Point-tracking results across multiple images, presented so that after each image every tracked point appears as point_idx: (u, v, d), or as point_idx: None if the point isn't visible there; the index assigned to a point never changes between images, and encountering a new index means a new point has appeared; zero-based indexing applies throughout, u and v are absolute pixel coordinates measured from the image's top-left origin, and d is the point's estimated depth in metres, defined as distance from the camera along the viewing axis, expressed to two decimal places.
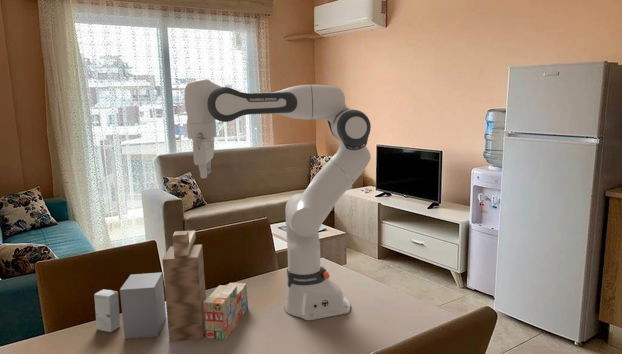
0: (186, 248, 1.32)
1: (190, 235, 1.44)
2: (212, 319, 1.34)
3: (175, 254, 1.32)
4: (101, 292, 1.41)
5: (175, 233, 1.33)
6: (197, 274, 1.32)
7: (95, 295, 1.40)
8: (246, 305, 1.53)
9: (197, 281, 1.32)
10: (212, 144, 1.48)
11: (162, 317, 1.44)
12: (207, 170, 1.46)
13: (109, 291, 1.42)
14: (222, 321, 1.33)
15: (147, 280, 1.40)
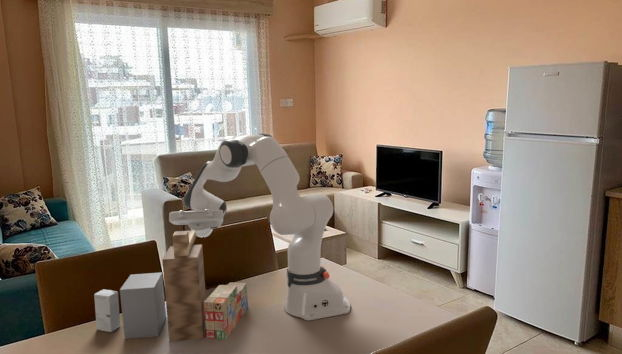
0: (186, 248, 1.32)
1: (190, 235, 1.44)
2: (212, 319, 1.34)
3: (175, 254, 1.32)
4: (101, 292, 1.41)
5: (175, 233, 1.33)
6: (197, 274, 1.32)
7: (95, 295, 1.40)
8: (246, 305, 1.53)
9: (197, 281, 1.32)
10: None
11: (162, 317, 1.44)
12: (205, 212, 1.66)
13: (109, 291, 1.42)
14: (222, 321, 1.33)
15: (147, 280, 1.40)
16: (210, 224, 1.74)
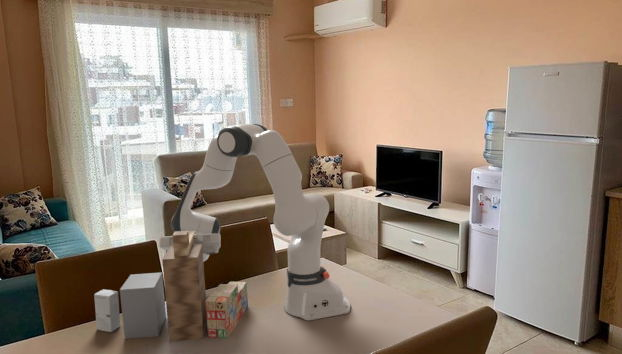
0: (186, 248, 1.32)
1: (190, 235, 1.44)
2: (214, 318, 1.35)
3: (175, 254, 1.32)
4: (101, 292, 1.41)
5: (175, 233, 1.33)
6: (197, 274, 1.32)
7: (95, 295, 1.40)
8: (246, 303, 1.54)
9: (197, 281, 1.32)
10: None
11: (162, 317, 1.44)
12: (194, 236, 1.47)
13: (109, 291, 1.42)
14: (224, 319, 1.34)
15: (147, 280, 1.40)
16: (206, 249, 1.55)
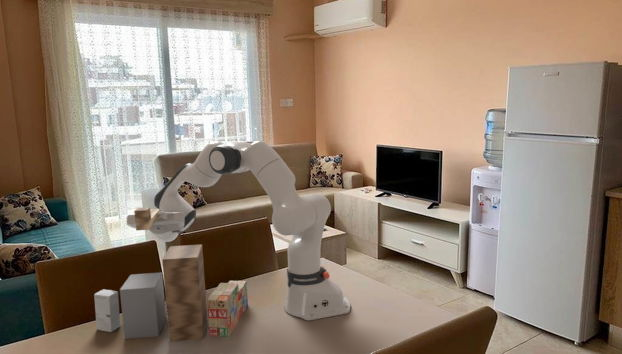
0: (147, 223, 1.43)
1: (154, 212, 1.55)
2: (216, 316, 1.36)
3: (137, 228, 1.43)
4: (101, 292, 1.41)
5: (137, 209, 1.44)
6: (197, 274, 1.32)
7: (95, 295, 1.40)
8: (246, 302, 1.55)
9: (197, 281, 1.32)
10: None
11: (162, 317, 1.44)
12: None
13: (109, 291, 1.42)
14: (226, 318, 1.35)
15: (147, 280, 1.40)
16: (171, 227, 1.66)
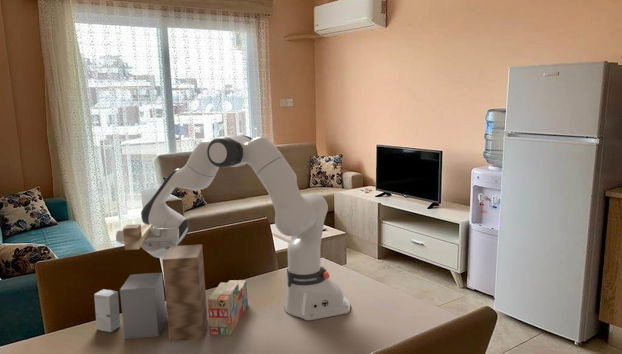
0: (137, 241, 1.31)
1: (145, 229, 1.43)
2: (216, 315, 1.36)
3: (126, 247, 1.31)
4: (101, 292, 1.41)
5: (126, 226, 1.32)
6: (197, 274, 1.32)
7: (95, 295, 1.40)
8: (246, 302, 1.56)
9: (197, 281, 1.32)
10: None
11: (162, 317, 1.44)
12: (150, 230, 1.46)
13: (109, 291, 1.42)
14: (226, 317, 1.36)
15: (147, 280, 1.40)
16: (165, 244, 1.54)
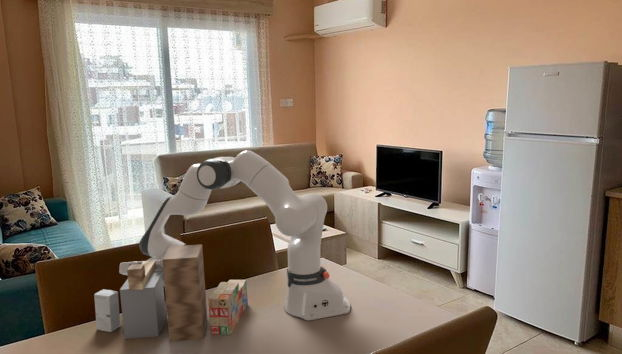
0: (141, 282, 1.33)
1: (149, 266, 1.45)
2: (217, 315, 1.36)
3: (130, 288, 1.33)
4: (101, 292, 1.41)
5: (130, 267, 1.34)
6: (197, 274, 1.32)
7: (95, 295, 1.40)
8: (246, 301, 1.56)
9: (197, 281, 1.32)
10: None
11: (162, 317, 1.44)
12: (156, 263, 1.48)
13: (109, 291, 1.42)
14: (227, 316, 1.36)
15: None
16: None
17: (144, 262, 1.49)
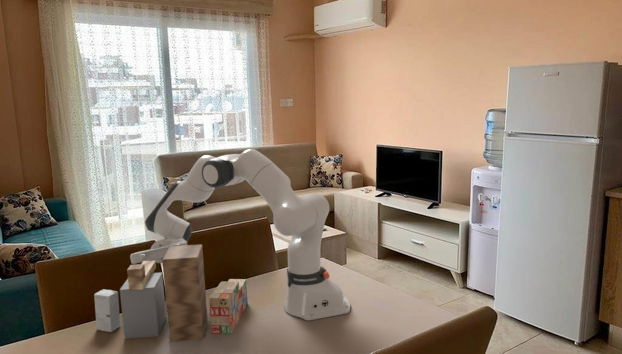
0: (141, 282, 1.33)
1: (149, 266, 1.45)
2: (218, 314, 1.37)
3: (130, 288, 1.33)
4: (101, 292, 1.41)
5: (130, 267, 1.34)
6: (197, 274, 1.32)
7: (95, 295, 1.40)
8: (246, 300, 1.57)
9: (197, 281, 1.32)
10: (181, 242, 1.67)
11: (162, 317, 1.44)
12: None
13: (109, 291, 1.42)
14: (228, 315, 1.37)
15: None
16: None
17: (144, 262, 1.49)
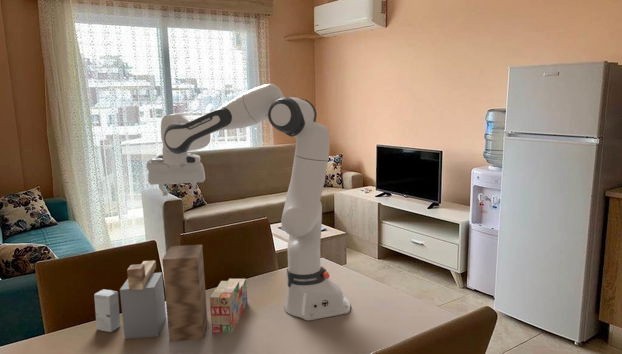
0: (141, 282, 1.33)
1: (149, 266, 1.45)
2: (218, 313, 1.37)
3: (130, 288, 1.33)
4: (101, 292, 1.41)
5: (130, 267, 1.34)
6: (197, 274, 1.32)
7: (95, 295, 1.40)
8: (246, 300, 1.57)
9: (197, 281, 1.32)
10: (197, 170, 1.63)
11: (162, 317, 1.44)
12: None
13: (109, 291, 1.42)
14: (228, 315, 1.37)
15: None
16: None
17: (144, 262, 1.49)
